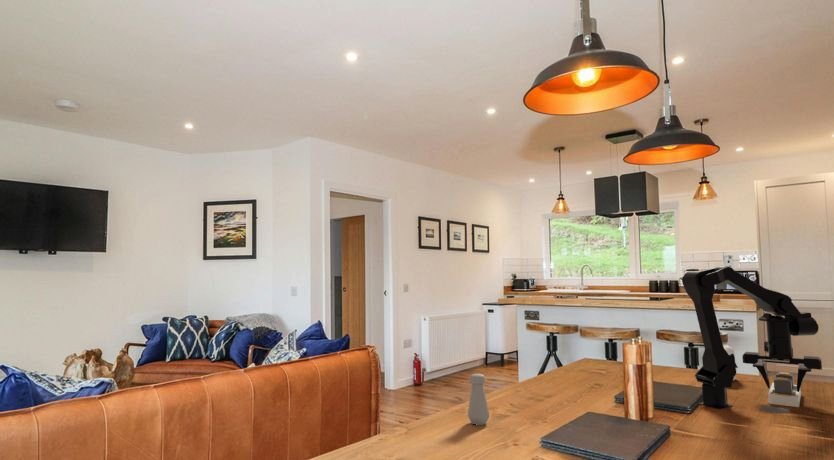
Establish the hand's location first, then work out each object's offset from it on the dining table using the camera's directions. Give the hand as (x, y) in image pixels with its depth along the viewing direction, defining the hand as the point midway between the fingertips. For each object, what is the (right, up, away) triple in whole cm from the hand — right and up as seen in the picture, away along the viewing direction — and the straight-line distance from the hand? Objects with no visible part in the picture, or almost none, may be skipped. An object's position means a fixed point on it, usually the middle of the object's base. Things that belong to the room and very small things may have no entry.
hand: (783, 389), depth 146 cm
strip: (+8, -4, +9) cm, 13 cm away
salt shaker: (-92, -5, -13) cm, 93 cm away
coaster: (-8, -3, -8) cm, 12 cm away
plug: (0, -3, 0) cm, 3 cm away
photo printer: (+2, -6, +29) cm, 30 cm away
